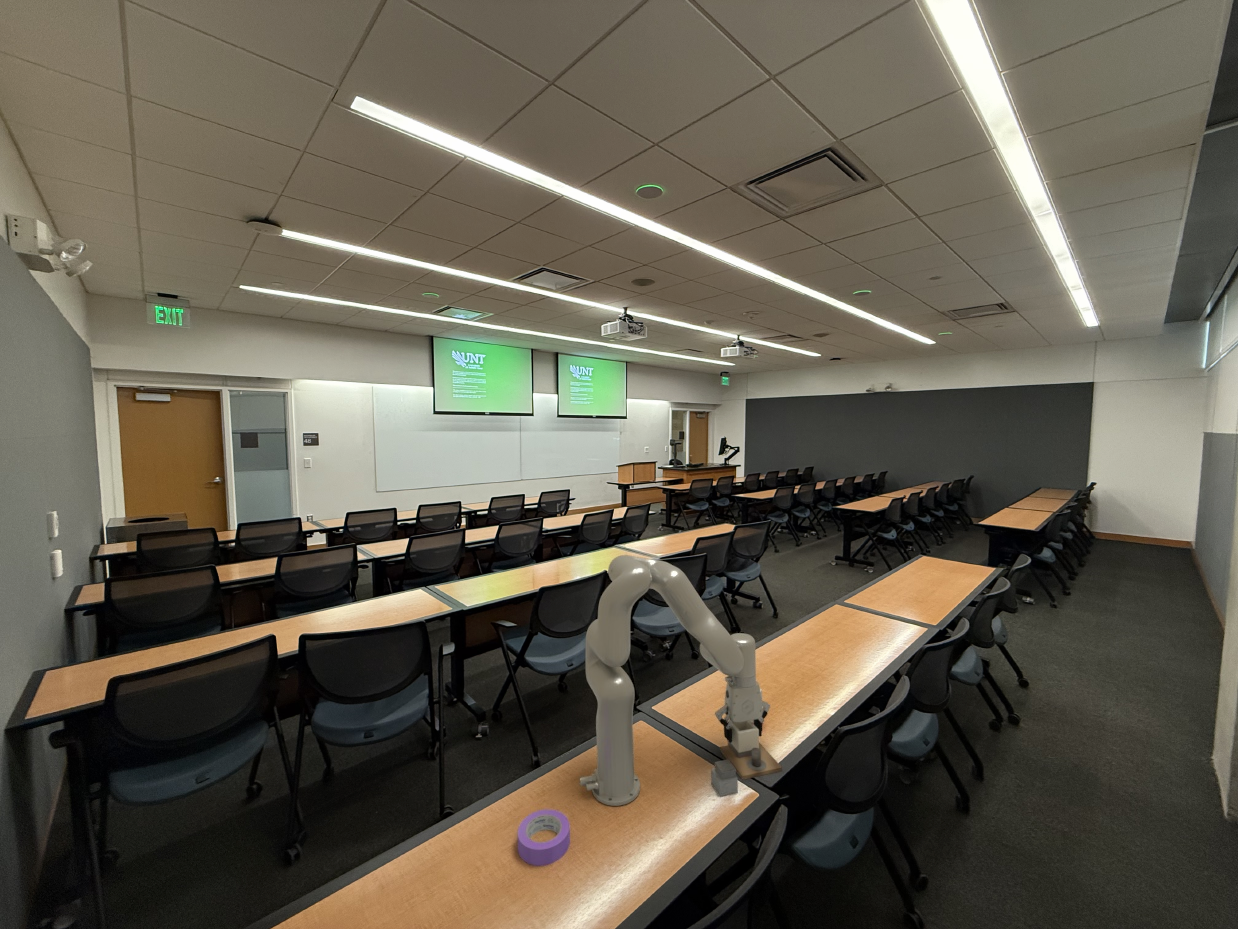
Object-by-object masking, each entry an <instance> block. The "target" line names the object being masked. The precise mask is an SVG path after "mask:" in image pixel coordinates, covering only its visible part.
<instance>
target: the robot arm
mask: <svg viewBox="0 0 1238 929" xmlns="http://www.w3.org/2000/svg"><path fill="white" fill-rule="evenodd" d="M607 570H608V576H609V580H611V581H612V582H610V584H608V586H607V587H606V588H605V589H604V591H603V592H602V595H601V596H600V598H599V603H598V610H597V619H595V620H593V621H592V622H591V623H590V625H589V626H588V628H587V631H586V634H585V677H586V681H587V683H588V685H589V687H590V688H591V690H592V693H593V694H594V695H595V698H596V700H597V711H596V717H595V725H596V726H595V729H596V730H595V733H596V755H597V756H596V757H597V758H596V759H597V760H596V761H597V762H596V763H597V764H596V765H597V768H596V767H595V768H594V773H591V774H590V775H588V776H587V775H586V776H585V775H584V776H582V777H579V785H580V787H583V786H584V787H585V788H586V791H592V794H593V796H594V798H595V799H596V800H597V801H599V803H602V804H603V805H607V806H613V807H616V806H617V807H618V806H622V805H623V806H625V805H626V804H630V803H631V802H632V801H634V800H635V799H636V798H637V797H638V795H639V794H640V791H641V782H640V779H639V777H638V775H636V774H635V767H634V766H635V763H634V761H635V760H634V758H635V757H634V756H635V755H634V728H633V727H634V726H633V725H634V724H633V723H634V721H633V718H634V716H633V714H634V712H633V711H634V703H635V698H636V697H635V695H636V694H635V687H634V684H633V682H632V680H631V678H630V676H629V675H628V674H627V672H626V671H625V670H624V669H623V668H622V667H621V666H623V665H625V664H626V662H627V661H628V660H629V658H630V653H631V618H632V617H631V615H632V610H633V606H634V605H635V603H636V602H637V601H638V600H639V599H640V598H641V597H642V596H644V595H645V594H646V593H647V592H648V591H649V589H650V590H651V589H653V590H655V592H657V593H659V595H661V597H662V599H663V600H664V602H665V603H666V605H668V607H669V608H670V610H671V611H672V613H673V615H674V616H675V618H676V619H677V620H678V622H679V623H680V625H681V626H682V627H683V628H684V629H685V630H686V631H687V632H688V633H689V634H690V635H691V636H692V637H694V638H695V639H696V640H697V642H699V643H700V644H699V651H700V654H701V657H702V658H704V659H705V660H706V661H707V662H708V663H709V664H710V665H712V666H713V667H714V668H715V669H717V670H718V671H719V672H720V673H722V674H723V675H725V677H724V681H725V682H726V687H725V693H724V704H723V705H722V706H721V707H720V708H719V709H718V710H716V711H715V712H714V716H715V717H716V719H717V720H718V722H719V723H720V724H721V725H722V726H723V737H724V738H725V739H726V740H727V742H728V741H729V742H730V743H731V742H732V729H731V726H732V724H733V723H740V722H745V721H750V720H754V725H755V726H756V727H757V728H758V729H759V738H760V737H762V735H763V734H762V733H763V726H762V723H763V724H764V722H765V718H767V716H768V714H769V713H768V712H769V710H770V708H771V704H769V703H768V702H766V701H764V700H763V697H762V698H761V692H760V689H761V687H760V683H759V682H758V681H757V676H756V675H757V672H756V671H757V670H756V669H757V668H756V667H757V665H756V663H757V662H756V641H755V638H754V637H753V636H752V635H751V634H748V633H743V632H742V633H741V632H739V633H738V632H737V633H733V634H730V633H729V632H728V630H727V629H726V627H724V625H723V624H722V623H721V622H720V621H719V619H717V617H716V616H715V615H714V613H713V612H712V611H711V610H710V608H708V607H707V605H706V604H705V602H704V601H703V599H702V598H701V597H700V595H699V593H698V592H697V591H696V589H695V587H694V586H693V584H692V582H691V581H690V580H689V578H688V577H687V575H686V573H684V572H683V571H682V570H681V568H679V567H677V566H676V565H672V564H671V563H669V562H667V561H663V560H658V559H652V558H646V557H639V556H636V555H635V556H634V555H627V554H620V555H618V556H616V557H614V558H613V559H612V560H611V561H610V562H609V565H608V568H607ZM762 708H763V709H762ZM723 715H725V716H724V718H723Z"/></svg>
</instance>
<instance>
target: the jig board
mask: <svg viewBox="0 0 1238 929" xmlns="http://www.w3.org/2000/svg"><path fill="white" fill-rule="evenodd" d="M719 750H720V752H721V754H722V755H723V756H724V758H725V760H729V761H730V762H731V763H732V765H733V766H734V767H735V769H736V774H737V775H738V776H739V777H740V779H741V780H748V779H752V778H756V777H760V776H765V775H771V774H774V773H778V772H779V773H780V772H783V767H782V766H781V764H779V762H778V761H777V760H776V759H775V758H774V757H773V755H771V753H769V752H768V750H767V749H766V748H765V747H764V746H763V745H762V744H761V742H759V748H752V755H750V756H746V757H741V758H739V757H738V756H737V755H736V754H735V753H734V751H733V750H732V749H731V748H730V746H729V745H728V744H727V745H723V746H719Z"/></svg>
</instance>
